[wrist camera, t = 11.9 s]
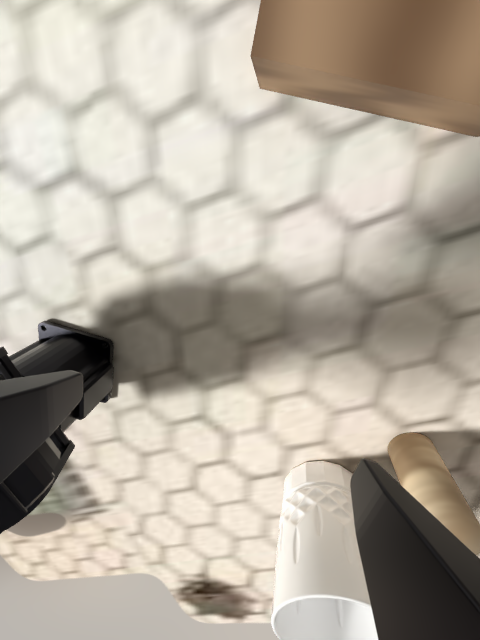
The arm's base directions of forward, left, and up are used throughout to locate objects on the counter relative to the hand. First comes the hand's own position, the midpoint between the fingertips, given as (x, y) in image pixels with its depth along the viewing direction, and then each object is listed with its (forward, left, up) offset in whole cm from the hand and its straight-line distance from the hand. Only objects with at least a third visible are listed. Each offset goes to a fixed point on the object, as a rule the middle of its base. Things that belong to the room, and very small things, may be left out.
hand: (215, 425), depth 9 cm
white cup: (+10, -16, -13) cm, 23 cm away
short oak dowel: (+15, -9, -13) cm, 22 cm away
